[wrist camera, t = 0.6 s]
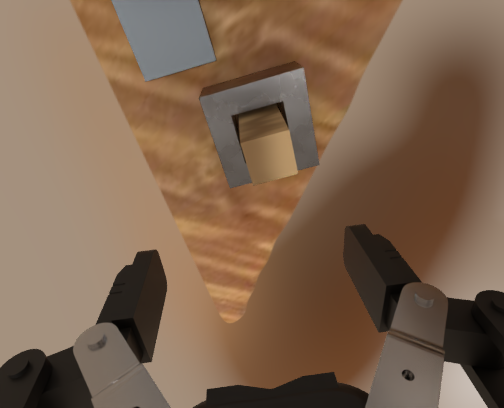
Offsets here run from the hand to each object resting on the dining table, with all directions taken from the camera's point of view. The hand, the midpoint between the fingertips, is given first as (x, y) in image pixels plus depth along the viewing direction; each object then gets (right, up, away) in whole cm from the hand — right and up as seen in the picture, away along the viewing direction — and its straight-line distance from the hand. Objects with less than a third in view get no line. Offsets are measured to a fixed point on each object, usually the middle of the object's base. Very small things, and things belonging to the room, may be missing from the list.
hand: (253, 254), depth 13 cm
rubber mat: (-8, +19, +17) cm, 27 cm away
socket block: (+1, +12, +22) cm, 25 cm away
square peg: (+1, +12, +22) cm, 25 cm away
